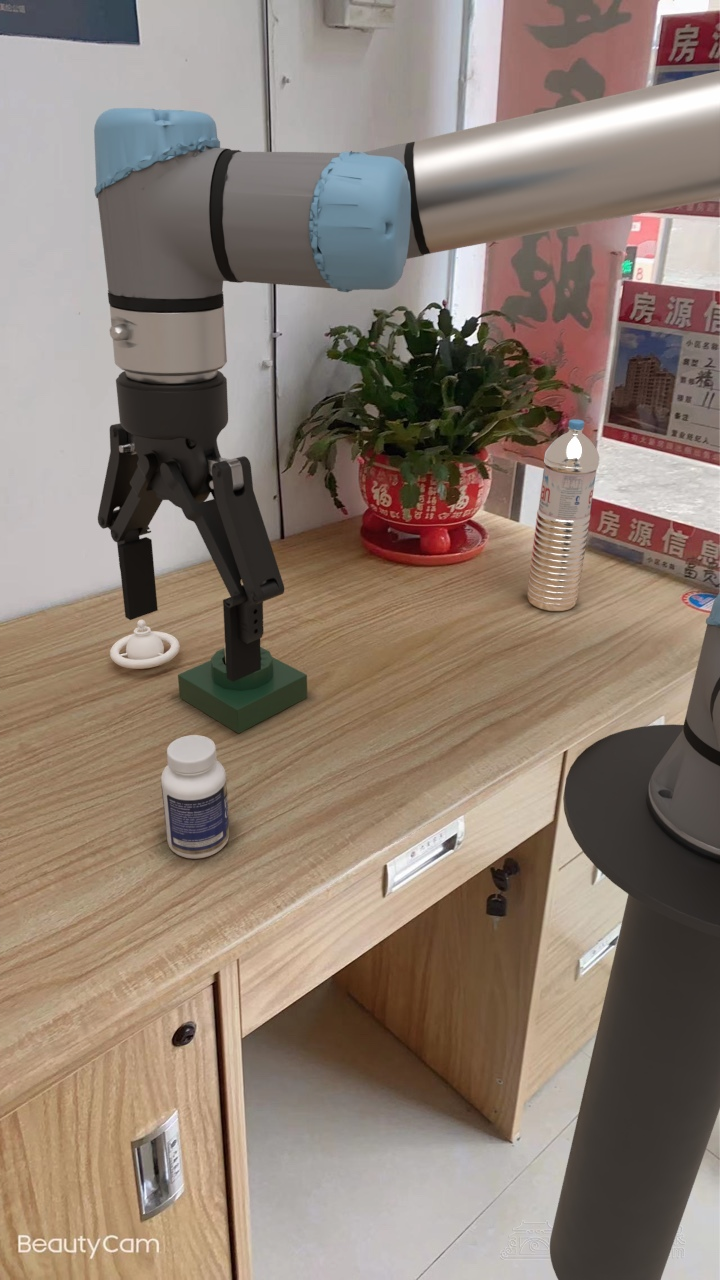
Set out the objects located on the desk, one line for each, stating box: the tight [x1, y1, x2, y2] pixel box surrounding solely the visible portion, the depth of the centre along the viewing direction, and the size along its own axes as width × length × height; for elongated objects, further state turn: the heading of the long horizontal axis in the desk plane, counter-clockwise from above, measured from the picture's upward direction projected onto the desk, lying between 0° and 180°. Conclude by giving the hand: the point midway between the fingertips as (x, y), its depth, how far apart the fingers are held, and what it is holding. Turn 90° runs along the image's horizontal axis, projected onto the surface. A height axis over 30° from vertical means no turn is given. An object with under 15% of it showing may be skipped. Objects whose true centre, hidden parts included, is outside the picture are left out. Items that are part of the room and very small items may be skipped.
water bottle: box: [526, 418, 600, 612], centre depth 116 cm, size 7×7×25 cm
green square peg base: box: [177, 646, 308, 734], centre depth 97 cm, size 10×10×5 cm
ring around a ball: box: [109, 619, 181, 670], centre depth 103 cm, size 8×6×8 cm
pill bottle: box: [160, 734, 230, 860], centre depth 75 cm, size 5×5×10 cm
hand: (189, 642), depth 71 cm, fingers open, 13 cm apart
